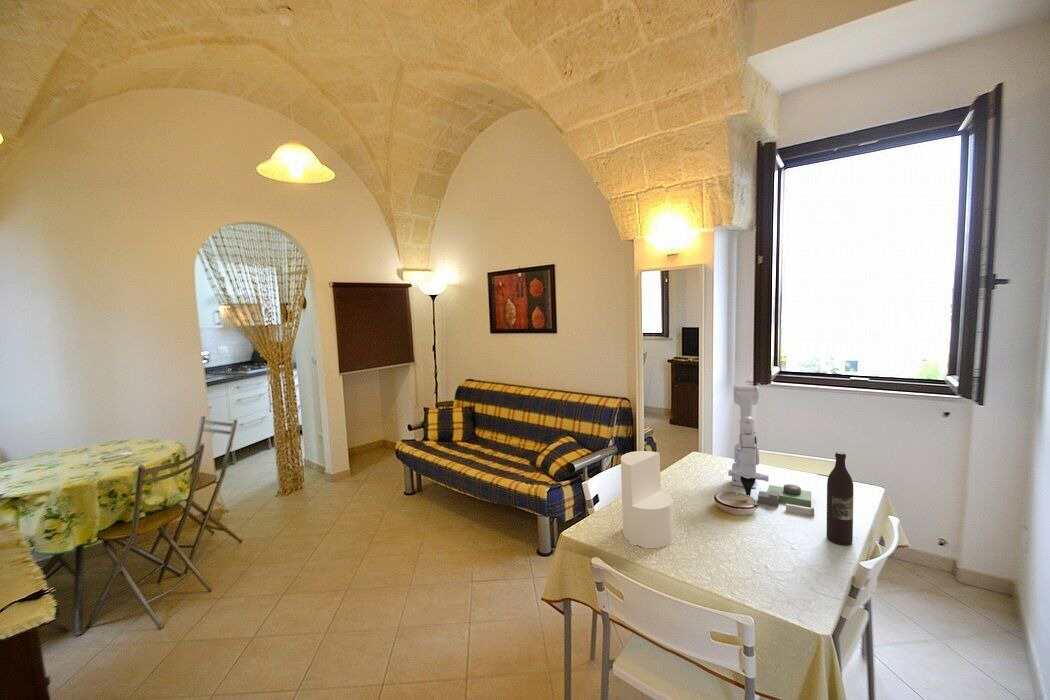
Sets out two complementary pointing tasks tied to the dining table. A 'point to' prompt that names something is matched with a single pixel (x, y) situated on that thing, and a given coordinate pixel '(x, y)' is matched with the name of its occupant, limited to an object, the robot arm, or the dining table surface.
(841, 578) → the dining table surface
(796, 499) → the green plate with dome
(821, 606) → the dining table surface
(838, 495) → the wine bottle
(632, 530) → the white stepped pillar
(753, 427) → the robot arm
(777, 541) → the dining table surface
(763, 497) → the grey stepped block
